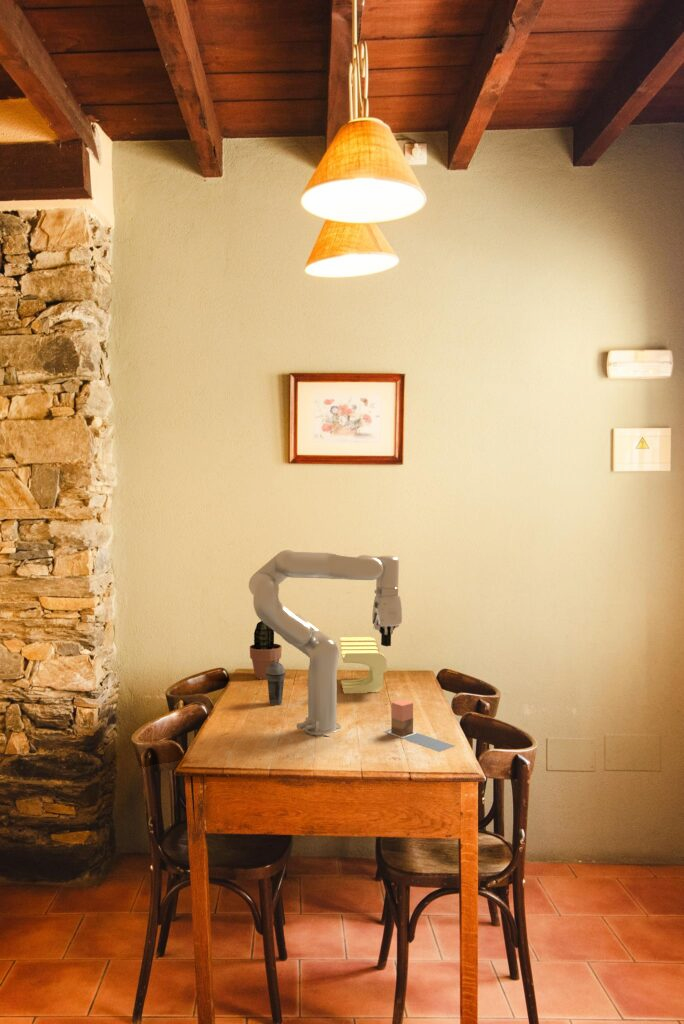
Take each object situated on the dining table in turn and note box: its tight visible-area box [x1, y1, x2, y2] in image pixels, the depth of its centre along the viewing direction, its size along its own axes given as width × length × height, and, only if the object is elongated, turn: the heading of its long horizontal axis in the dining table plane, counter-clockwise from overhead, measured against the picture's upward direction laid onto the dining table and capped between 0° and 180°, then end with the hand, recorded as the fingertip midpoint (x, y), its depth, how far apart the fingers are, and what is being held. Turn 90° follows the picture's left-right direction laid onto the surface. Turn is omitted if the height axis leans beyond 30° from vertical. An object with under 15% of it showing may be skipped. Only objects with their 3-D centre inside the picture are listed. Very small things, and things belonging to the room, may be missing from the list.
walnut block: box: [390, 717, 414, 737], centre depth 235 cm, size 5×5×5 cm
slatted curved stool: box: [339, 636, 388, 694], centre depth 291 cm, size 30×16×18 cm, turn 4°
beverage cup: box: [266, 651, 286, 706], centre depth 269 cm, size 7×7×20 cm
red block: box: [390, 699, 414, 721], centre depth 234 cm, size 5×5×5 cm
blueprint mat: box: [383, 729, 455, 753], centre depth 229 cm, size 8×24×1 cm, turn 42°
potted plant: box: [249, 620, 283, 680], centre depth 307 cm, size 14×14×25 cm
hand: (385, 645), depth 246 cm, fingers closed
